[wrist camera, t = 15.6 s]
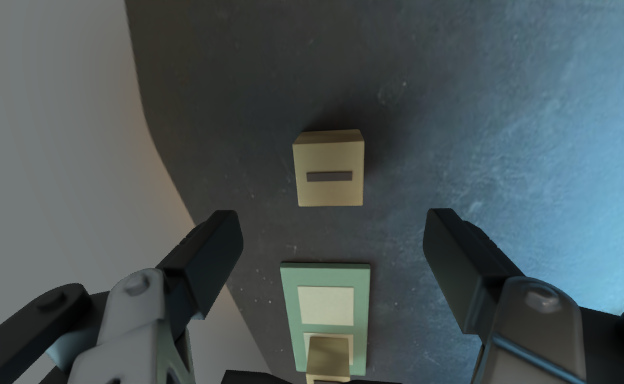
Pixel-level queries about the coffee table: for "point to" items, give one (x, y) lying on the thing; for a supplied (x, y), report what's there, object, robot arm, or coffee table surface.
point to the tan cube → (329, 168)
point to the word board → (327, 307)
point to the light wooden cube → (328, 361)
